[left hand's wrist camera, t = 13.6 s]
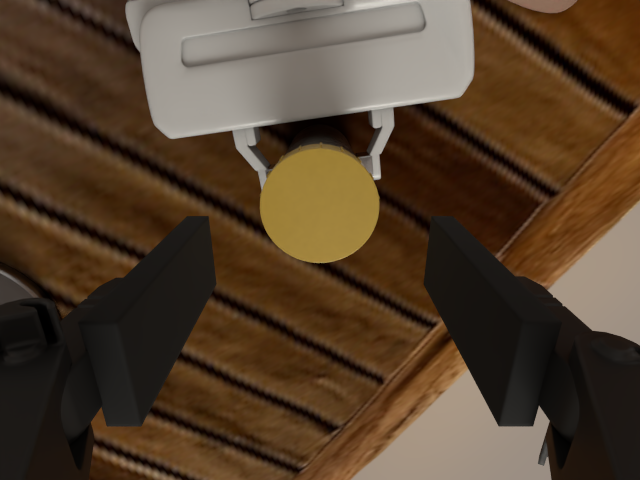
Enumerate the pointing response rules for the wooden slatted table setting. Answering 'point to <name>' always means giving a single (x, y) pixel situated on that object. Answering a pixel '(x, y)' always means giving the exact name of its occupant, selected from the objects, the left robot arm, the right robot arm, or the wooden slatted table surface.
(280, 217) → the lid
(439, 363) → the wooden slatted table surface
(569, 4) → the anatomical model
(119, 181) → the wooden slatted table surface
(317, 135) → the jar
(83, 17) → the wooden slatted table surface
